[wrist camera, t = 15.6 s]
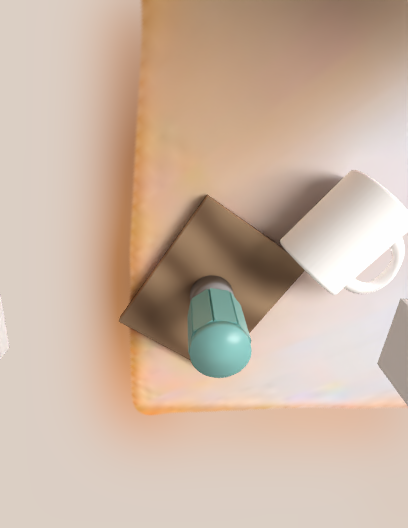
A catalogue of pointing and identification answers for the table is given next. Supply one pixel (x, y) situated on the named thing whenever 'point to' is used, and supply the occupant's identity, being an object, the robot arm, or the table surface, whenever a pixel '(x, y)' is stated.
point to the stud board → (210, 275)
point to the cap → (217, 334)
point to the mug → (350, 235)
